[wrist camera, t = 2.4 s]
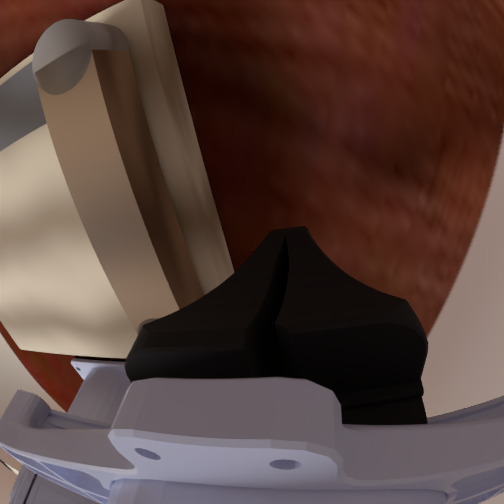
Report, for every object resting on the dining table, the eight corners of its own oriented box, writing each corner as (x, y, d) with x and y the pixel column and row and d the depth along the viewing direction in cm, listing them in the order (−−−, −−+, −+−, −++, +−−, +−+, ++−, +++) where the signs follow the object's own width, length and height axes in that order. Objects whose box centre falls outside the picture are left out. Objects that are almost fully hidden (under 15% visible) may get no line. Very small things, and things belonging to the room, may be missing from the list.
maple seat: (250, 326, 19) (245, 359, 17) (34, 330, 23) (20, 350, 21) (163, 4, 10) (138, -7, 8) (-52, 144, 14) (-76, 155, 12)
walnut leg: (68, 41, 9) (27, 42, 7) (121, 14, 8) (83, 5, 6) (167, 324, 16) (152, 360, 14) (215, 321, 15) (204, 361, 13)
